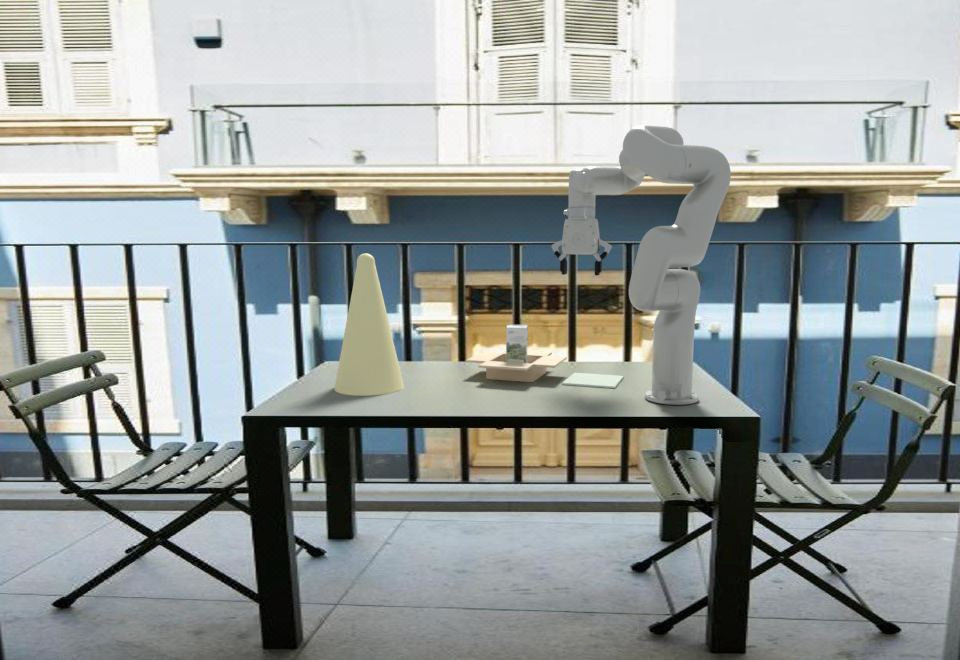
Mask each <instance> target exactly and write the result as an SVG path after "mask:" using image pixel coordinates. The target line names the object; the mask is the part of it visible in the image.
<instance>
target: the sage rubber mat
mask: <svg viewBox="0 0 960 660" xmlns="http://www.w3.org/2000/svg"><path fill="white" fill-rule="evenodd" d="M623 379H624V375H617V374H616V375H615V374H601V373H588V372H587V373H586V372H585V373H584V372H573V373H572V374H571V375H569V377H567V378H566V379H565V380H564V381H563V382H562V386H563V385H565V386H574V387H576V386H577V387H588V388H589V387H590V388H602V389H603V388H605V389H616V388H617V386H618V385H619V384H620V383H621V382H622V380H623Z"/></svg>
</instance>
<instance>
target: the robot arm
mask: <svg viewBox="0 0 960 660" xmlns="http://www.w3.org/2000/svg"><path fill="white" fill-rule="evenodd" d="M618 163H619V166H618V167H617V166H596V165H595V166H590V165H589V166H586V167H584V168H576V169H572V170H570V171H569V172H568V174H569V175H568V207H567V208H566V209H564V210H563V211H562V212H563V215H565V216H567V218H565V219H564V223H563V230H562V238H561V240H559V241H556V242H555V243H552V245H551V249H552V251H553V253H554V255H555V257H556V258H557V259H558V260H559V261H560V262H559V266H560V267H559V270H560V272H561V275H566V274H568V260H567V258H568V256H569V255H592V256H593V257H594V258H595V261H594V276H600V273H602V271H603V270H602V266H603V265H602V264H603V263H602V262H603V261H604V259H605V258H606V257H607V256H608V255H609V253H610V251H611V250H612V248H613V246H612V245H611V244H609V243H608V242H606V241H604V240H602V239H601V238H600V228H599V221H598V218H596V197H597V196H604V195H605V196H620V195H623V194H626V193H628V192H630V191H632V190H634V189H636V188H638V187H639V186H640V185H641V184H642V183H643V180H644V178H645V176H646V175H648V176H649V177H650V178H651V179H653V180H654V181H657V182H659V183H662V184H675V185H676V184H677V185H679V184H680V185H693V188H692V189H691V190H690V191H689V192H688V193H687V194H686V195H685V197H684V199H683V200H682V202H681V203H680V206H679V208H678V213H677V216H676V219H675V221H674V223H673V224H672V225H658V226H655V227H652V228H651V229H649V230H648V231H647V232H646V233H645V235H644V236H642V239H641V240H640V242H639V246H638V250H637V253H636V257H635V261H634V265H633V269H632V272H631V277H630V280H629V284H628V297H629V298H628V299H629V301H630V303H631V305H632V306H633V307H634V309H637V310H638V311H641V312H656V311H657V312H658V314H657V315H656V318H655V320H654V324H653V332H652V333H653V334H652V360H651V361H652V363H651V364H652V366H651V367H652V370H651V371H652V372H651V389H649V390H647V391H646V392H644V398H645V399H646V400H647V401H649V402H653V403H655V404H656V403H657V404H662V405H669V406H670V405H673V406H674V405H675V406H684V405H692V404H695V403H698V401H699V395H698V394H697V393H695V392H693V372H694V371H693V369H694V347H695V346H694V345H695V344H694V341H695V325H696V316H697V315H696V314H697V309H698V305H699V301H700V295H701V283H700V281H699V279H698V277H697V276H696V275H695V274H694V273H693V272H691V271H690V270H687V269H683V268H690V267H695V266H698V265H700V263H701V262H702V261H703V260H704V258H705V256H706V254H707V250H708V248H709V244H710V240H711V238H712V235H713V231H714V228H715V224H716V221H717V217H718V214H719V212H720V208H721V207H722V204H723V202H724V200H725V197H726V196H727V194H728V192H729V191H728V190H729V188H730V183H731V178H732V177H731V176H732V175H731V173H732V172H731V167H730V163H729V161H728V159H727V157H726V156H725V154H724V153H722V152H721V151H720V150H718V149H716V148H714V147H708V146H704V145H694V144H693V145H691V144H689V145H688V144H684V138H683V137H682V134H681V133H680V132H678V130H676V129H674V128H672V127H668V126H658V125H647V124H646V125H643V124H642V125H637V126H634V127H633V128H631V129H630V130H628V132H627V133H626V134H625V136H624V139H623V141H622V150H621V151H620V152H619V156H618ZM600 246H601V247H603V248H604V250H603V252H602V253H600V249H601V247H600ZM559 247H561V251H562V253H561V252H560V250H559ZM681 268H682V269H681Z"/></svg>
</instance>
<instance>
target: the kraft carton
mask: <svg viewBox="0 0 960 660" xmlns="http://www.w3.org/2000/svg"><path fill="white" fill-rule="evenodd" d="M567 358H568V357H567V356H560V355H558V356H557V355H553V352H552V351H540V350H539V351H538V350H527V363H515V362H506V350H505V351H503V352H491V351H482V352H480V353H478V354H476V355H474V356H471V357H469V358H468V359H466V360H465V362H466V363H473V364H475V363H476V364H478V365H477V366H478V368H482V369H485V379H486V380H494V381H495V380H496V381H507V382H508V381H509V382H524V383H534V382H536V381H537V380H538V379H540V378H541V377H542V376H544V375H545V374H547V368H551V369H552V368H553V369H555V368H557V367H558V366H559V365H561V364H562V363H564V362H565V361H566V360H568V359H567Z"/></svg>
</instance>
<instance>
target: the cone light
mask: <svg viewBox="0 0 960 660" xmlns="http://www.w3.org/2000/svg"><path fill="white" fill-rule="evenodd" d="M354 274H355V275H354V279H353V285H352V291H351V295H350V301H349V306H348V311H347V312H348V313H347V318H346V324H345V329H344V334H343V339H342V345H341V350H340V355H339V359H338V360H339V362H338V367H337V372H336V378H335V383H334V387H333V389H334V391H335V392H336V393H338V394H341V395H346V396H355V397H357V396H361V397H362V396H363V397H364V396H365V397H366V396H369V397H370V396H380V395H382V396H383V395H388V394H393V393H396V392H399V391H401V390H403V389H404V388H405V385H404V380H403V377H402V373H401V372H402V370H401V367H400V363H399V359H398V356H397V351H396V346H395V343H394V339H393V338H394V337H393V334H392V329H391V325H390V321H389V317H388V313H387V308H386V304H385V300H384V295H383V292H382V288H381V283H380V278H379V274H378V271H377V266H376V260H375V257H374V256H373V255H372V254H370V253H361V254H360V255H358V256H357V259H356V267H355V273H354Z"/></svg>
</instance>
